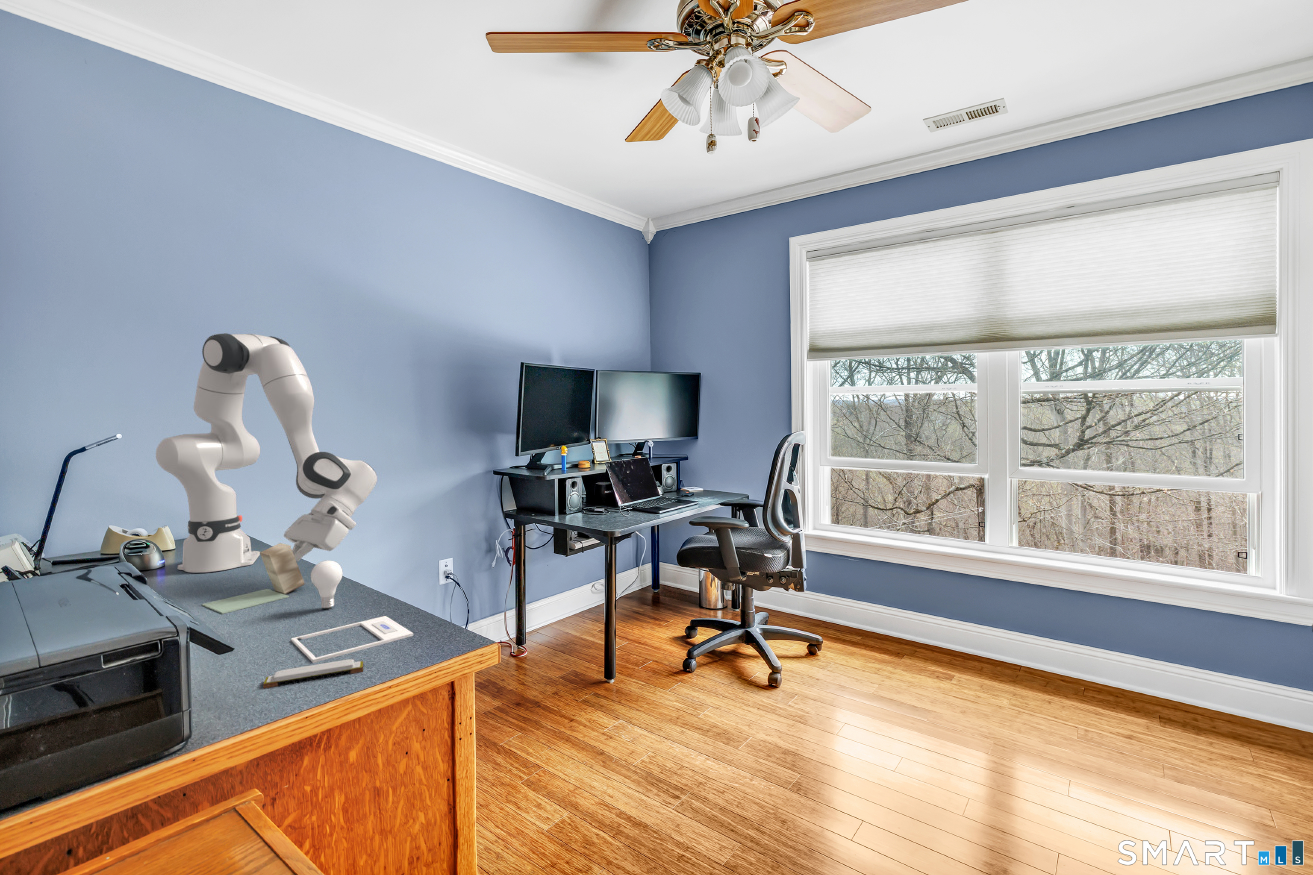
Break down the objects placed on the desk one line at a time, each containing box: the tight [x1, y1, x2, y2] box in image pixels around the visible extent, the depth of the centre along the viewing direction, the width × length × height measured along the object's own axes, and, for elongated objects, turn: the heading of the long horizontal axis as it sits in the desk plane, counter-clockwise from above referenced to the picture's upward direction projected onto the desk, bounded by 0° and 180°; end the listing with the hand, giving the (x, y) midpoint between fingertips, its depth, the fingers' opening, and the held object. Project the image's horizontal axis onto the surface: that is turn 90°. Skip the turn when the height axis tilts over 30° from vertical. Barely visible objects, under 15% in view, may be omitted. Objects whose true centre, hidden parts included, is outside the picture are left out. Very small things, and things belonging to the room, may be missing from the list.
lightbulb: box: [310, 560, 343, 610], centre depth 137 cm, size 6×6×11 cm
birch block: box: [259, 542, 306, 595], centre depth 149 cm, size 5×5×11 cm
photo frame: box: [291, 615, 414, 664], centre depth 119 cm, size 15×1×18 cm
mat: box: [201, 588, 290, 614], centre depth 143 cm, size 14×11×1 cm
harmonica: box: [262, 659, 364, 689], centre depth 102 cm, size 15×3×2 cm, turn 114°
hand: (292, 558), depth 151 cm, fingers closed
